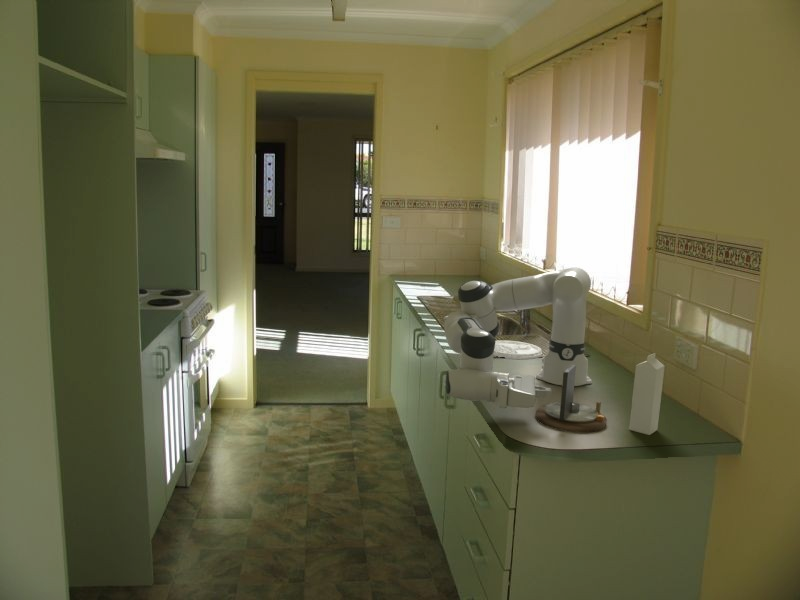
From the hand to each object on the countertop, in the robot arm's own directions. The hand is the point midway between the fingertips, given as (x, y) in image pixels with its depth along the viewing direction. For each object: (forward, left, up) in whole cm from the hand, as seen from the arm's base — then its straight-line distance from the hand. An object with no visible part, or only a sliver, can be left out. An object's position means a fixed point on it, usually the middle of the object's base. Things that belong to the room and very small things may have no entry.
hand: (551, 392), depth 203 cm
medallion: (-83, -14, -10) cm, 85 cm away
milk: (-4, +26, -10) cm, 28 cm away
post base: (-6, +6, -10) cm, 13 cm away
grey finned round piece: (-4, +7, -8) cm, 11 cm away
